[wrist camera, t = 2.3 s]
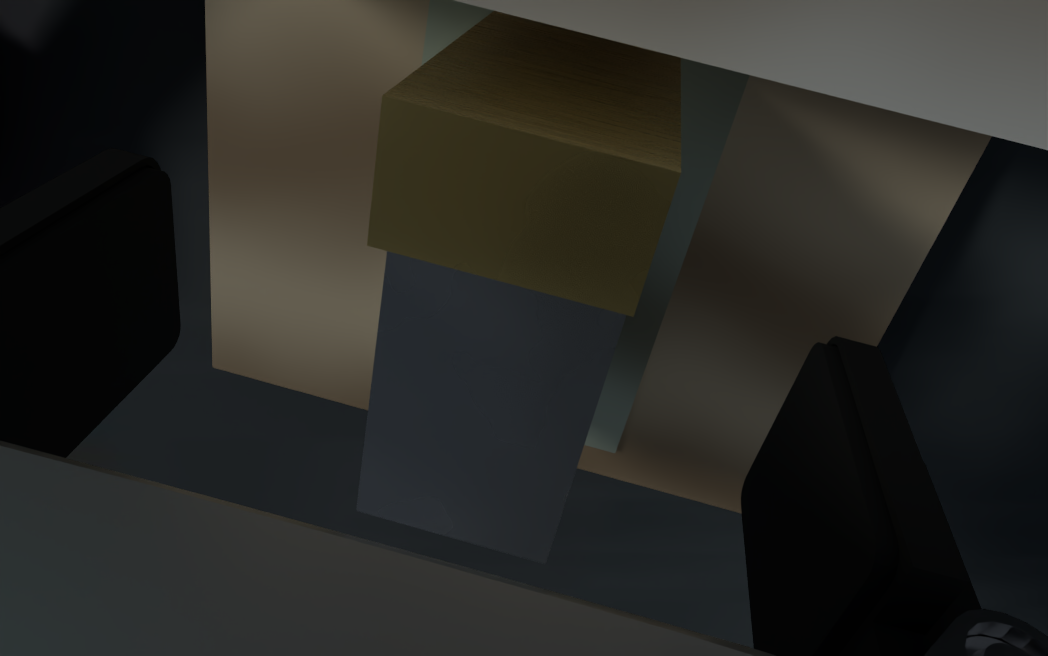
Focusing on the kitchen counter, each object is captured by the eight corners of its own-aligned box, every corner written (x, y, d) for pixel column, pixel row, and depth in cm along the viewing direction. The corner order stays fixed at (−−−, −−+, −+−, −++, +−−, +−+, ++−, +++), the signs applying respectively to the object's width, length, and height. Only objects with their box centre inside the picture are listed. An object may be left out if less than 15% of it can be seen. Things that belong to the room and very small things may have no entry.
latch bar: (581, 378, 19) (536, 608, 13) (441, 341, 19) (335, 551, 13) (680, 51, 15) (681, 172, 9) (500, 5, 15) (382, 95, 9)
